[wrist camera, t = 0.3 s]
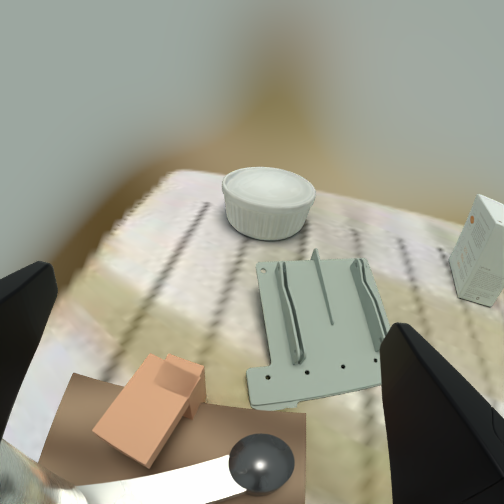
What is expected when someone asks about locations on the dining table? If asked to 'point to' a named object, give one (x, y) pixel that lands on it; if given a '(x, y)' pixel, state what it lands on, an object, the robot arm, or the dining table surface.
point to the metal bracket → (317, 331)
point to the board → (175, 449)
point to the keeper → (152, 407)
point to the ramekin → (267, 202)
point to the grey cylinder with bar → (156, 478)
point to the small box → (480, 253)
